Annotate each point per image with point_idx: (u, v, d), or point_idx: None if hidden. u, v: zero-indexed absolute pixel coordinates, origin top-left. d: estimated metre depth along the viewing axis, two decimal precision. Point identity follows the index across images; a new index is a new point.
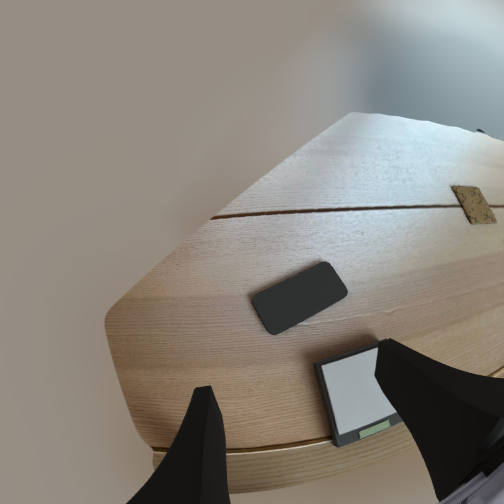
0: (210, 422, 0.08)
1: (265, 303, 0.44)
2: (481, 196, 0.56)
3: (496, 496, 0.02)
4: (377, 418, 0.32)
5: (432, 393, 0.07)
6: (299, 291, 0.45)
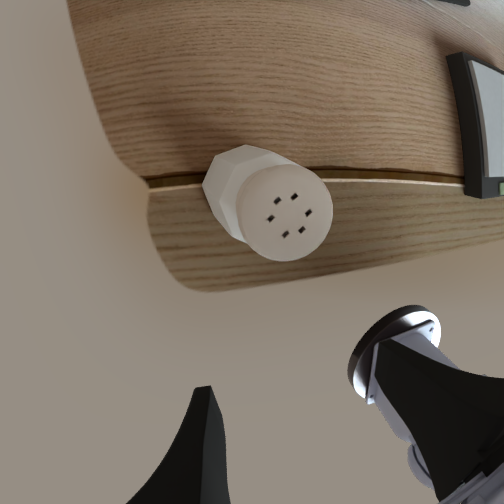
0: (210, 422, 0.08)
1: None
2: None
3: (496, 496, 0.02)
4: None
5: (432, 393, 0.07)
6: None
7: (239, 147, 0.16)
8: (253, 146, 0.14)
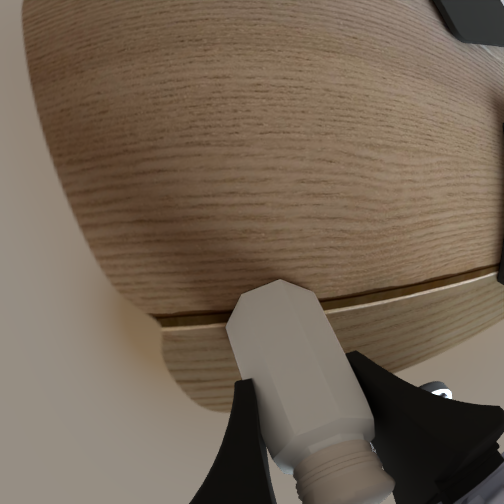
0: (257, 414, 0.08)
1: None
2: None
3: (496, 496, 0.02)
4: None
5: (391, 413, 0.07)
6: (478, 1, 0.09)
7: (273, 289, 0.13)
8: (299, 321, 0.11)
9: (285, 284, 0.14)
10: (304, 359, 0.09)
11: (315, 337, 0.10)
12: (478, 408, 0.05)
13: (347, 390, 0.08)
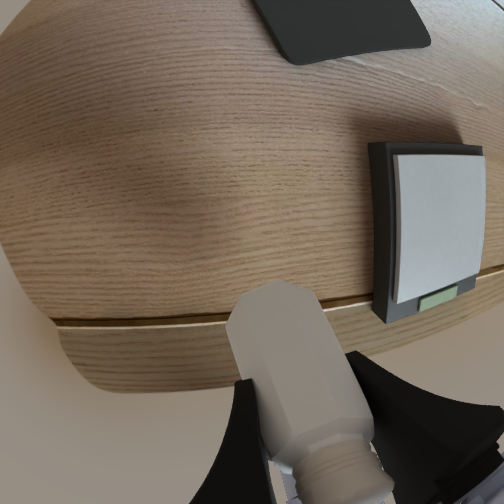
0: (257, 414, 0.08)
1: (282, 3, 0.13)
2: None
3: (496, 496, 0.02)
4: (449, 282, 0.20)
5: (391, 413, 0.07)
6: (352, 3, 0.14)
7: (273, 289, 0.13)
8: (298, 321, 0.11)
9: (284, 284, 0.14)
10: (303, 359, 0.09)
11: (314, 337, 0.10)
12: (478, 408, 0.05)
13: (346, 390, 0.08)
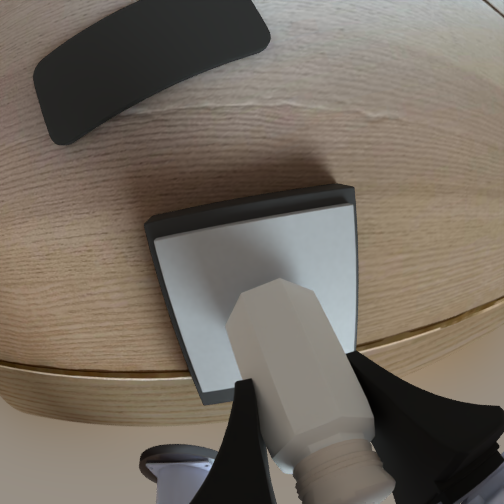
0: (257, 414, 0.08)
1: (54, 74, 0.12)
2: None
3: (496, 496, 0.02)
4: None
5: (391, 414, 0.07)
6: (136, 34, 0.12)
7: (273, 288, 0.13)
8: (298, 320, 0.11)
9: (285, 283, 0.14)
10: (304, 358, 0.09)
11: (315, 336, 0.10)
12: (478, 408, 0.05)
13: (347, 389, 0.08)
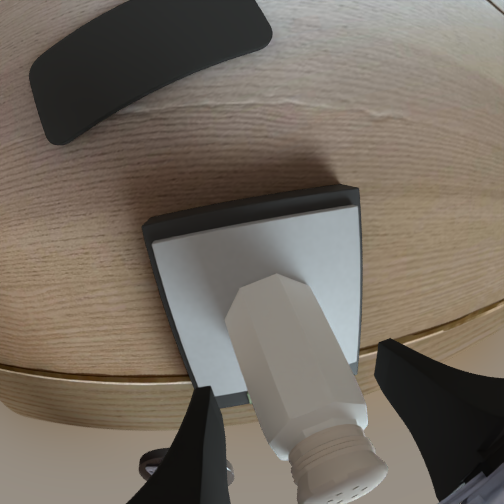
0: (210, 422, 0.08)
1: (50, 72, 0.11)
2: None
3: (496, 496, 0.02)
4: None
5: (432, 393, 0.07)
6: (134, 30, 0.11)
7: (270, 283, 0.14)
8: (294, 313, 0.11)
9: (282, 278, 0.14)
10: (299, 347, 0.10)
11: (310, 327, 0.11)
12: None
13: (340, 377, 0.08)
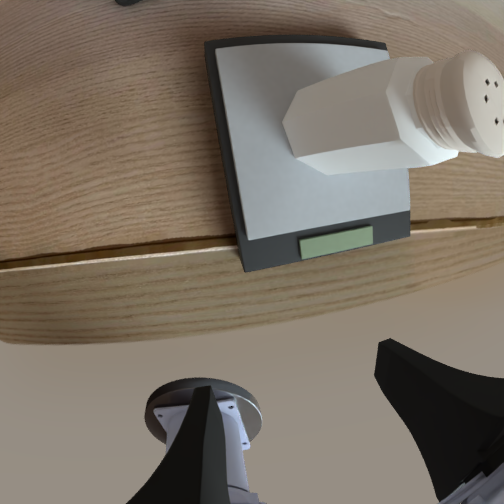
0: (210, 422, 0.08)
1: None
2: None
3: (496, 496, 0.02)
4: (348, 216, 0.16)
5: (432, 393, 0.07)
6: None
7: None
8: None
9: None
10: None
11: None
12: None
13: None
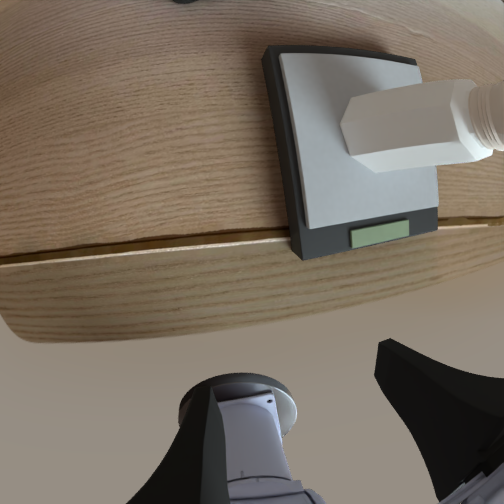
0: (210, 422, 0.08)
1: None
2: None
3: (496, 496, 0.02)
4: (391, 210, 0.17)
5: (432, 393, 0.07)
6: None
7: None
8: None
9: None
10: None
11: None
12: None
13: None
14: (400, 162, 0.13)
